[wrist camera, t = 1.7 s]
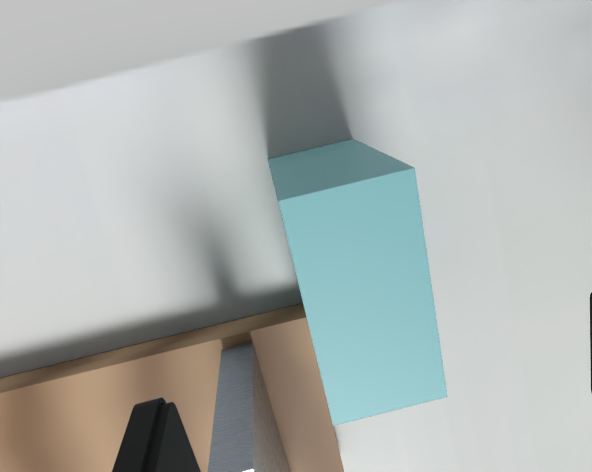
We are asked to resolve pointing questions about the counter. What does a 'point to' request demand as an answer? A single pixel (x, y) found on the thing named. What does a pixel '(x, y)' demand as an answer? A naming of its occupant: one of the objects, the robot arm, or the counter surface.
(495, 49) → the counter surface
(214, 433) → the bookend
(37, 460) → the wooden book rack
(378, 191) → the teal rectangular block
